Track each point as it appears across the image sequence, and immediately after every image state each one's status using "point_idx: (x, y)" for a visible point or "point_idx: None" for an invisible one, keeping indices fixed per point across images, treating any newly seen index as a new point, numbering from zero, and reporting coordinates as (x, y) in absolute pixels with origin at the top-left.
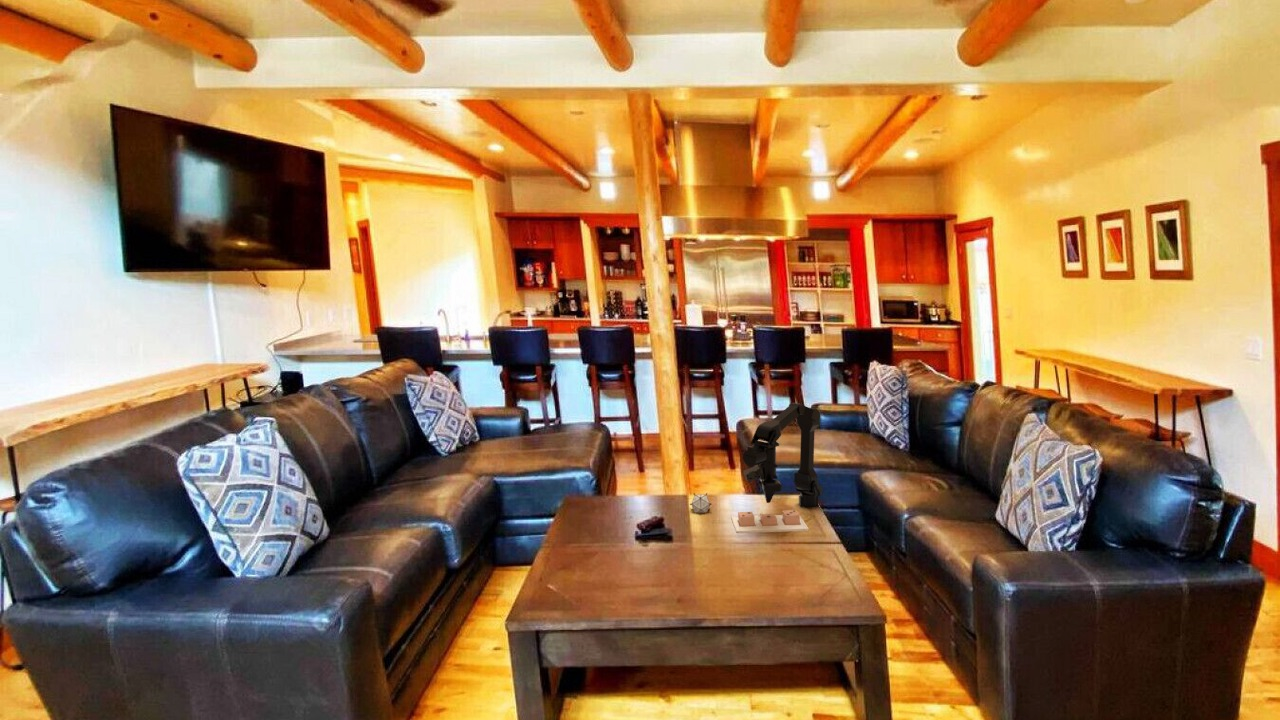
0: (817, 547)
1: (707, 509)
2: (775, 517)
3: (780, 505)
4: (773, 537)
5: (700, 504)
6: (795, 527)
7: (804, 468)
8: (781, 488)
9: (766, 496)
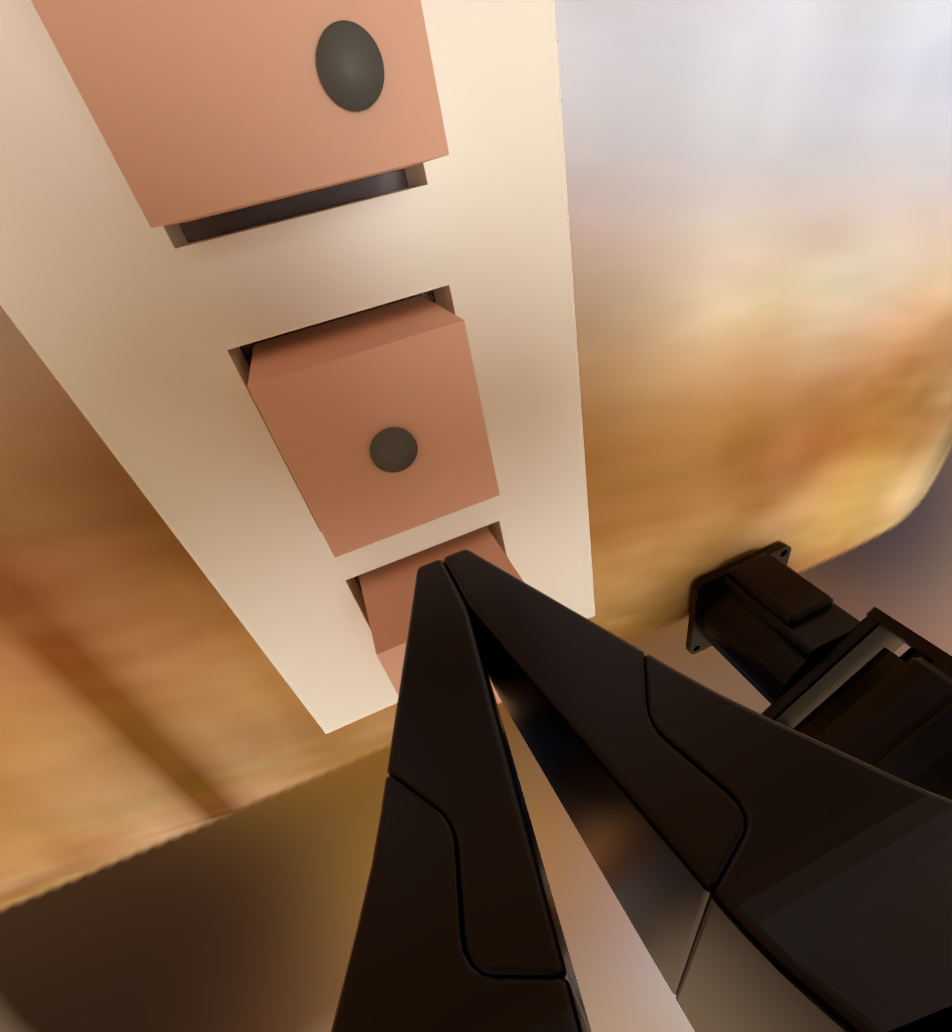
0: (81, 799)
1: None
2: (388, 529)
3: (824, 428)
4: (102, 483)
5: None
6: (317, 663)
7: None
8: None
9: (403, 730)
